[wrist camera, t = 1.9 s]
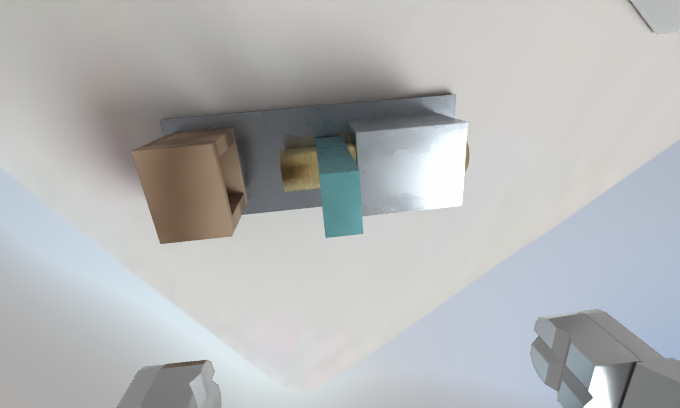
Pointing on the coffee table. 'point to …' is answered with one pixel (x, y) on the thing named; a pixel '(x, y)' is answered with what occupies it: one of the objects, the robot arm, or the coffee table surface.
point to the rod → (330, 181)
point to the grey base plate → (371, 151)
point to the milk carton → (660, 14)
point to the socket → (192, 184)
